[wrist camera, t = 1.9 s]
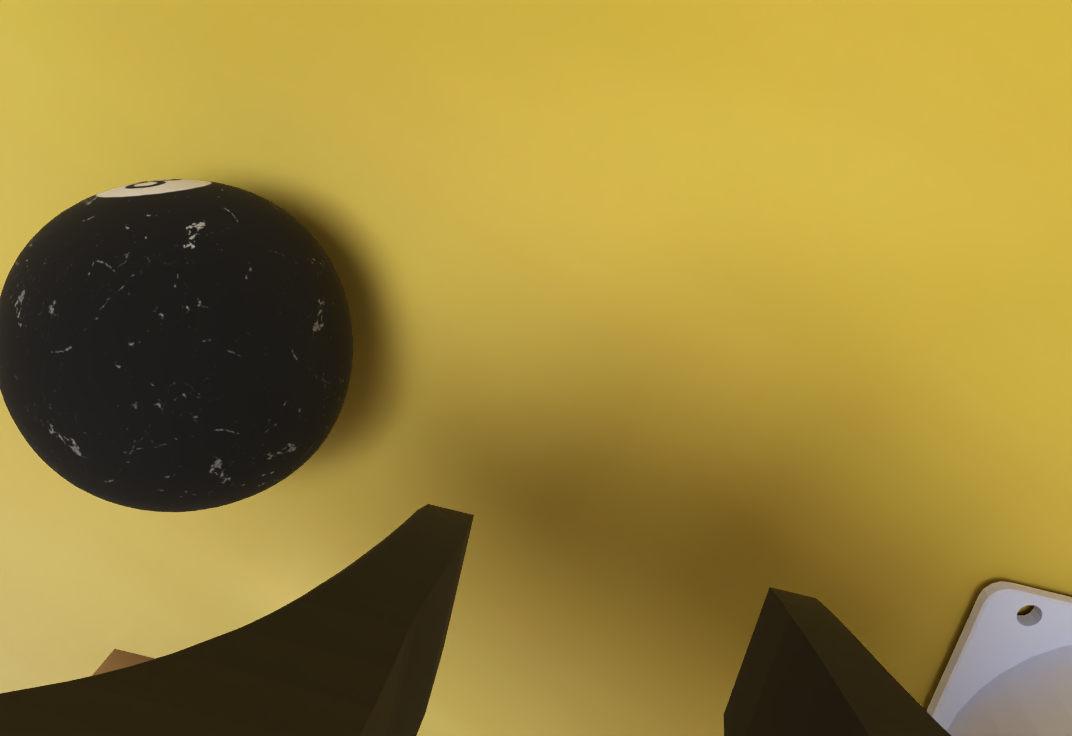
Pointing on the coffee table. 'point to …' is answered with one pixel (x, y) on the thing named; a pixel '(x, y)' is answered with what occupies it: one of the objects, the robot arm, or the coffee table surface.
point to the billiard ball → (174, 345)
